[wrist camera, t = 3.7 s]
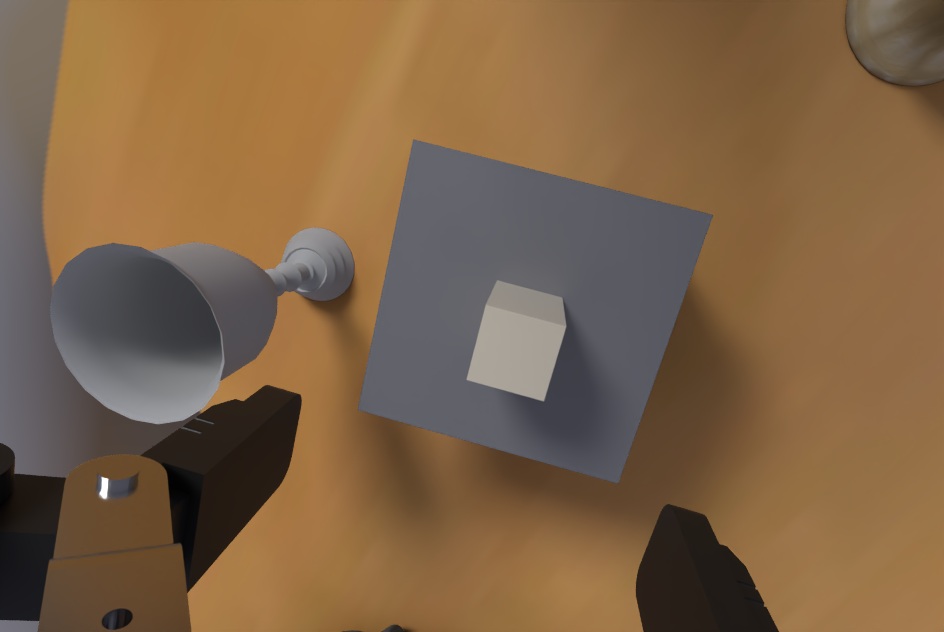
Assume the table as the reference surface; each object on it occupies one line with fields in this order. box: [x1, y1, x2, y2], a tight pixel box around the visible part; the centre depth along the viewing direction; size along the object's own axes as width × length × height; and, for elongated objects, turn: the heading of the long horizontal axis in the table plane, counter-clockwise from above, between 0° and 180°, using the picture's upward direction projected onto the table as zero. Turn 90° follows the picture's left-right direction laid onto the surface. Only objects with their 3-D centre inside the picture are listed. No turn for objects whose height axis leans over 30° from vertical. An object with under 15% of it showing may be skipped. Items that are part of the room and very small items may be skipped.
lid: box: [358, 140, 713, 484], centre depth 24 cm, size 13×13×7 cm
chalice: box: [50, 228, 354, 424], centre depth 30 cm, size 7×7×18 cm
